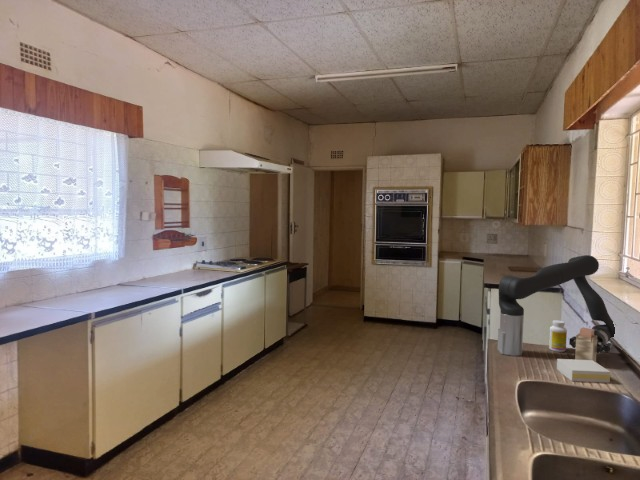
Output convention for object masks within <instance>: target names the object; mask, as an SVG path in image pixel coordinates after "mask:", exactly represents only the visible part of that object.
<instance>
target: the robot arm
mask: <svg viewBox="0 0 640 480" xmlns="http://www.w3.org/2000/svg"><path fill="white" fill-rule="evenodd" d="M599 267H600V263H599V261H598V259H597V258H596V257H594V256H593V255H589V254H588V255H587V254H586V255H580V256H574V257H570V259H568V262H562V263H561V262H560V263H556V264H551V265H547V266H544V267H542V268H540V269H538V270H537V271H536V273H535V274H534V275H532V276H528V277H517V276H512V275H504V276H503V277H502V278H501V279H500V280H499V284H498V305H499V309H500V314H499V316H500V317H499V328H498V330H497V351H498V352H499V353H500V354H501V355H505V356H512V357H514V356H515V357H516V356H517V357H519V356H521V355H523V347H524V346H523V344H524V341H523V340H524V339H523V338H524V319H525V318H524V316H525V313H524V312H525V309H524V307H523V306H522V305H520V303H518V300H523V299H526V298H528V297H530V296H531V295H534V294H536V293H538V292H541V291H544V290H547V289H548V290H549V289H550V288H553V287H557V286H560V285H562V284H565V283H567V282H569V281H572V280H573V281H574V283H575V285H576V286H577V288H578V291H579V292H580V294H581V296H582V298H583V300H584V303H585V304H586V307H587V311H588V313H589V316H590V318H591V319H592V320H593V321H597V322H602V323H604V324H597V325H596V324H595V325H594V326H592V327H591V329H594V335H595V336H596V335H597V350H596V354H599V353H602V352H603V353H604V352H605V353H610V351H611V350H612V343H611V342H609V341H610V338H611V337H614V334H615V327H614V324H613V322H614V321H613V319H612V317H611V316H610V314H609V312H608V310H607V307H606V306H607V305H606V303H605V302H604V299H603V298H602V296H600V294H599V293H598V292H597V291H596V290H595V289H594V288H593V287H592V286H591V285H590V283H589V282H588V280H587V277H586V276H592V275H594V274H596V273H597V272H598V270H599ZM569 346H571V347H572V348H573V349H576V335H575V336H572V337H570V338H569Z"/></svg>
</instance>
